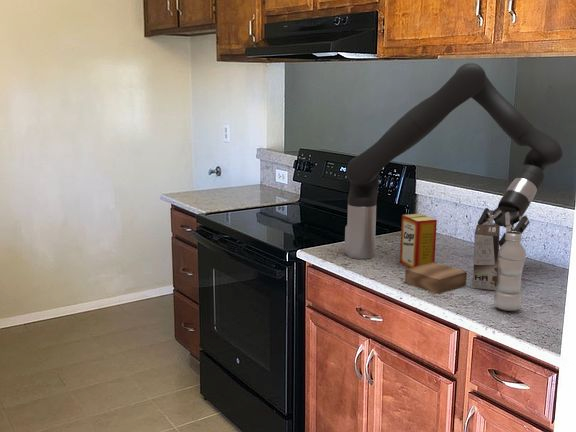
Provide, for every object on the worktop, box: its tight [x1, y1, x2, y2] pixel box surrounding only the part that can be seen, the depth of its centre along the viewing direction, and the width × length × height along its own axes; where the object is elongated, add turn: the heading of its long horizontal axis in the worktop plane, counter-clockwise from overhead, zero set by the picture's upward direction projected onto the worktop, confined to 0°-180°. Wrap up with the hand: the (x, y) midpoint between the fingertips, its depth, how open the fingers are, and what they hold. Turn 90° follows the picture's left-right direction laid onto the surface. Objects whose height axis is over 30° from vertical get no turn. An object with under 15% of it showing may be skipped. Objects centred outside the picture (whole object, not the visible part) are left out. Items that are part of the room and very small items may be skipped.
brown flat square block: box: [404, 261, 468, 295], centre depth 176 cm, size 12×12×4 cm
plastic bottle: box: [493, 231, 527, 312], centre depth 154 cm, size 6×7×20 cm
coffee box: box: [472, 223, 501, 291], centre depth 173 cm, size 9×6×16 cm
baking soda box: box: [399, 213, 438, 269], centre depth 191 cm, size 10×6×16 cm
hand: (489, 242), depth 174 cm, fingers open, 6 cm apart
